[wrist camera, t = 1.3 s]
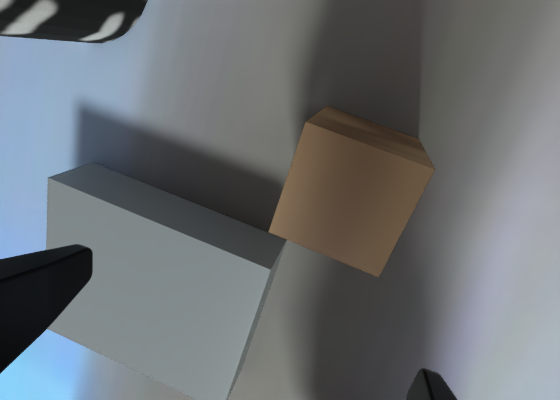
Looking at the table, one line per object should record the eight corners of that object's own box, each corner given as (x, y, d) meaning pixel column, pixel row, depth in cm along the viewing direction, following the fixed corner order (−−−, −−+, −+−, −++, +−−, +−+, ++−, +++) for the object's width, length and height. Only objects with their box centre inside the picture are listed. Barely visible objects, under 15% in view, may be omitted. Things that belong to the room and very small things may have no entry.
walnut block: (418, 138, 18) (435, 169, 13) (379, 220, 20) (378, 277, 15) (326, 105, 19) (305, 121, 13) (297, 188, 21) (268, 232, 15)
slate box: (288, 236, 23) (270, 269, 19) (242, 366, 27) (222, 411, 24) (97, 160, 24) (47, 177, 21) (86, 294, 29) (44, 327, 26)
